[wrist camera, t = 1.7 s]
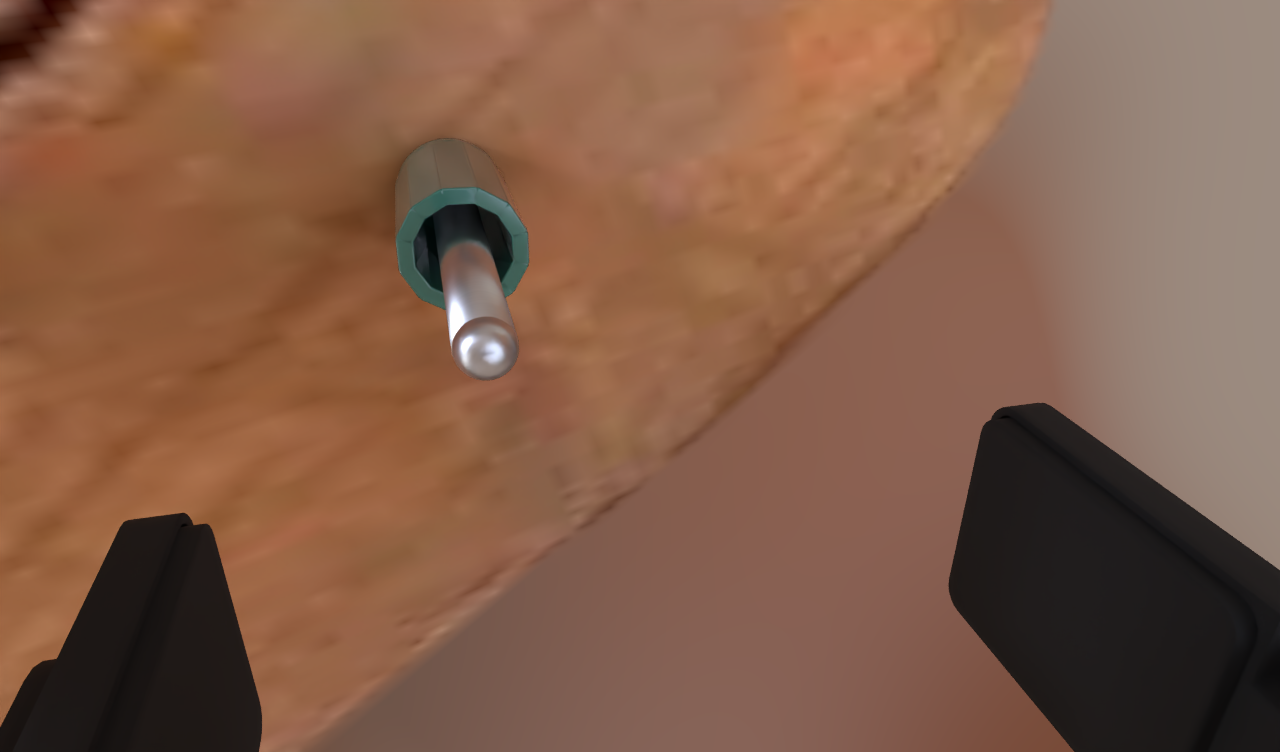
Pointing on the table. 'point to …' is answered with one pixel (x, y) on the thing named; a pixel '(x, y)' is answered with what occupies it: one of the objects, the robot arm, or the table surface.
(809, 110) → the table surface
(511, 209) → the pen holder
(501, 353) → the silver metal rod
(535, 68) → the table surface
